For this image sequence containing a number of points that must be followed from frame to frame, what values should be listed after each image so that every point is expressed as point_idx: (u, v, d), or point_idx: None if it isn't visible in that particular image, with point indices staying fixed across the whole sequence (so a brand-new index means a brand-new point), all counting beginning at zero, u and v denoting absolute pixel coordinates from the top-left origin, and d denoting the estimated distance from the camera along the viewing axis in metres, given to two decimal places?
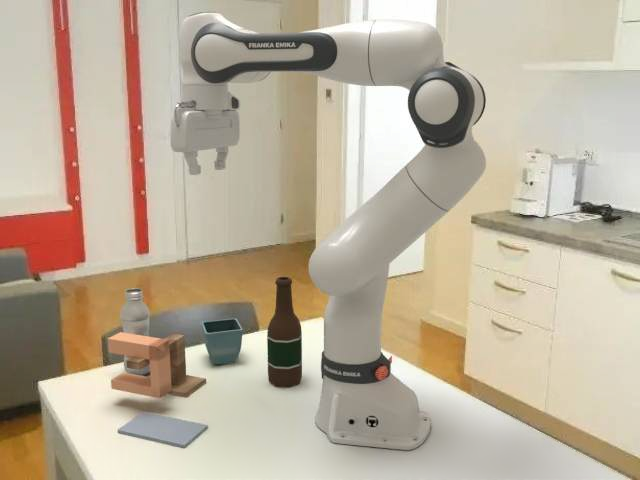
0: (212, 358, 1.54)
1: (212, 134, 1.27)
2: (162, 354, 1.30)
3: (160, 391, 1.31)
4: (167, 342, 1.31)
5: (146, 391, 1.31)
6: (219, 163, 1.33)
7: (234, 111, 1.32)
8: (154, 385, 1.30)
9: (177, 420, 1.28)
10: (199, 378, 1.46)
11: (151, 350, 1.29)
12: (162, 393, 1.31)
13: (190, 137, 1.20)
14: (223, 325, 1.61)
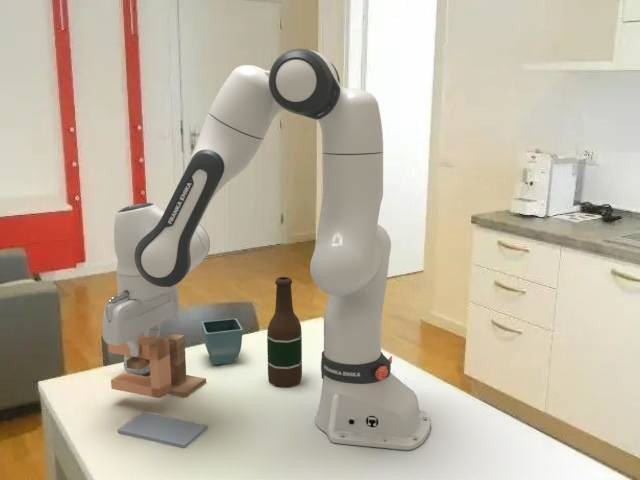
0: (212, 358, 1.54)
1: (147, 318, 1.29)
2: (162, 354, 1.30)
3: (160, 391, 1.31)
4: (167, 342, 1.31)
5: (146, 391, 1.31)
6: None
7: (171, 287, 1.35)
8: (154, 385, 1.30)
9: (177, 420, 1.28)
10: (199, 378, 1.46)
11: (151, 350, 1.29)
12: (162, 393, 1.31)
13: (122, 330, 1.22)
14: (223, 325, 1.61)
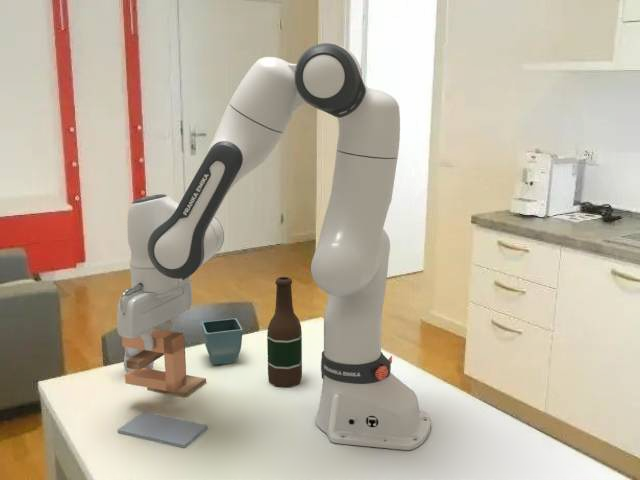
0: (212, 358, 1.54)
1: (161, 311, 1.28)
2: (177, 347, 1.28)
3: (175, 385, 1.29)
4: (181, 335, 1.30)
5: (161, 385, 1.30)
6: None
7: (185, 280, 1.33)
8: (169, 379, 1.29)
9: (177, 420, 1.28)
10: (199, 378, 1.46)
11: (165, 343, 1.27)
12: (177, 387, 1.30)
13: (137, 323, 1.21)
14: (223, 325, 1.61)
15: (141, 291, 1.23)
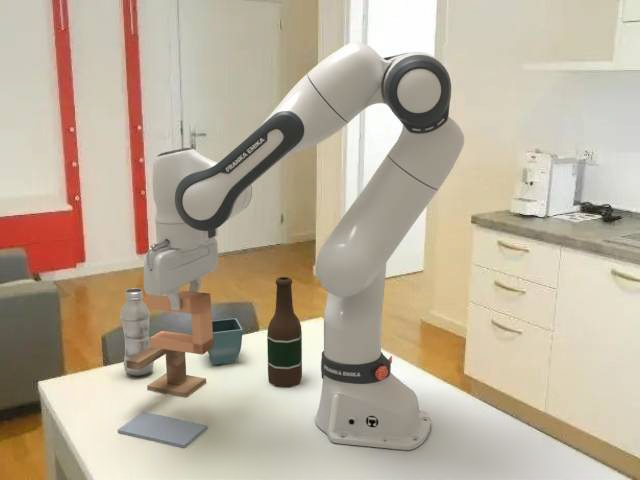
0: (212, 358, 1.54)
1: (188, 269, 1.23)
2: (204, 308, 1.24)
3: (203, 346, 1.24)
4: (208, 296, 1.25)
5: (187, 347, 1.25)
6: None
7: (211, 239, 1.29)
8: (196, 340, 1.24)
9: (177, 420, 1.28)
10: (199, 378, 1.46)
11: (193, 303, 1.23)
12: (205, 350, 1.25)
13: (164, 280, 1.16)
14: (223, 325, 1.61)
15: (167, 248, 1.19)
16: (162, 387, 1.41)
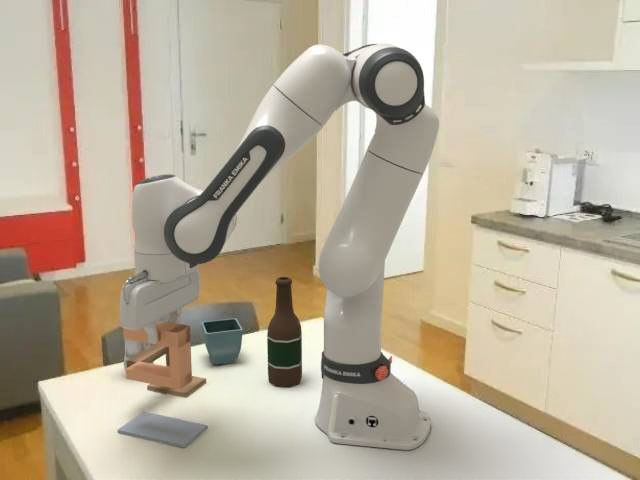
0: (212, 358, 1.54)
1: (167, 301, 1.18)
2: (183, 341, 1.19)
3: (180, 381, 1.19)
4: (188, 328, 1.20)
5: (164, 382, 1.20)
6: None
7: (193, 269, 1.23)
8: (174, 375, 1.19)
9: (177, 420, 1.28)
10: (199, 378, 1.46)
11: (171, 336, 1.17)
12: (182, 384, 1.20)
13: (141, 314, 1.11)
14: (223, 325, 1.61)
15: (146, 279, 1.13)
16: (162, 387, 1.41)
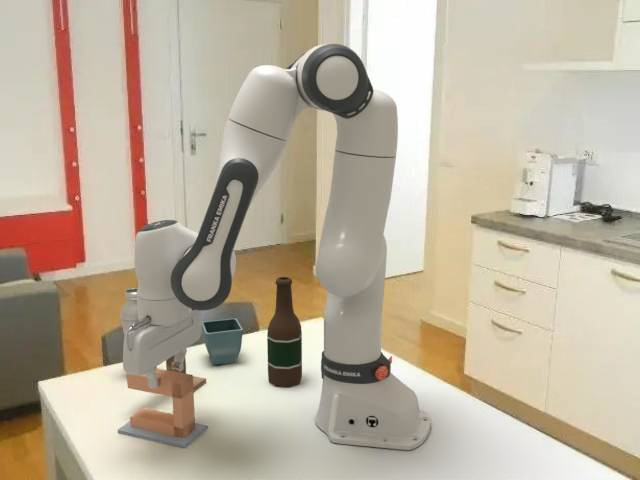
0: (212, 358, 1.54)
1: (170, 344, 1.19)
2: (186, 391, 1.21)
3: (184, 430, 1.21)
4: (191, 377, 1.22)
5: (168, 430, 1.22)
6: (176, 366, 1.25)
7: (195, 310, 1.25)
8: (177, 424, 1.21)
9: None
10: (199, 378, 1.46)
11: (174, 387, 1.19)
12: (186, 433, 1.22)
13: (144, 359, 1.12)
14: (223, 325, 1.61)
15: (148, 324, 1.15)
16: None
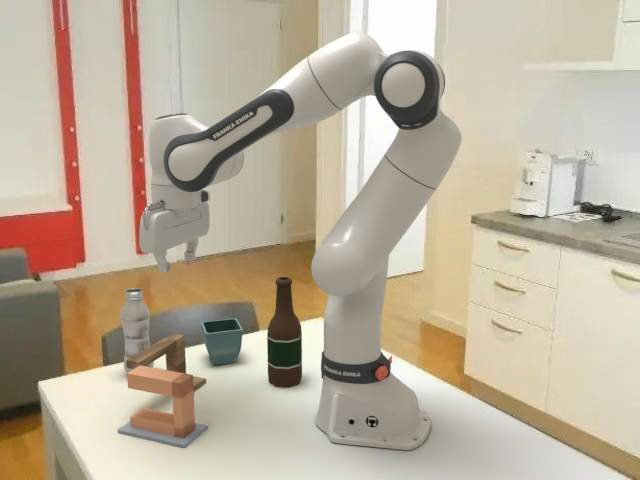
0: (212, 358, 1.54)
1: (181, 231, 1.28)
2: (186, 391, 1.21)
3: (184, 430, 1.21)
4: (191, 377, 1.22)
5: (168, 430, 1.22)
6: (189, 254, 1.34)
7: (204, 203, 1.34)
8: (178, 424, 1.21)
9: None
10: (199, 378, 1.46)
11: (174, 387, 1.19)
12: (186, 433, 1.22)
13: (159, 238, 1.21)
14: (223, 325, 1.61)
15: (162, 208, 1.24)
16: None
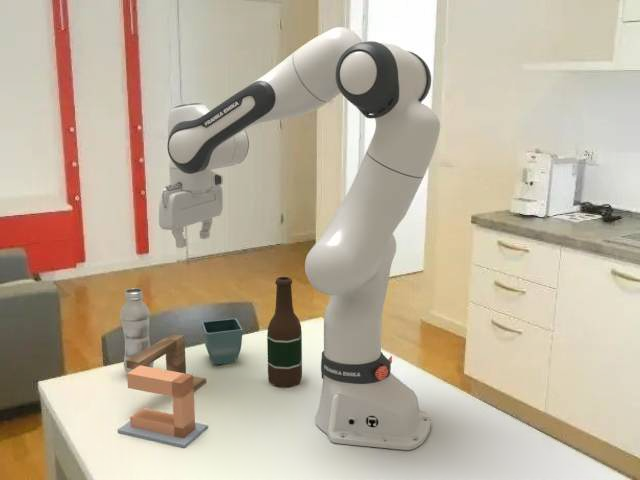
0: (212, 358, 1.54)
1: (197, 210, 1.41)
2: (186, 391, 1.21)
3: (184, 430, 1.21)
4: (191, 377, 1.22)
5: (168, 430, 1.22)
6: (204, 233, 1.47)
7: (217, 186, 1.46)
8: (178, 424, 1.21)
9: None
10: (199, 378, 1.46)
11: (174, 387, 1.19)
12: (186, 433, 1.22)
13: (176, 216, 1.34)
14: (223, 325, 1.61)
15: (180, 189, 1.37)
16: None
